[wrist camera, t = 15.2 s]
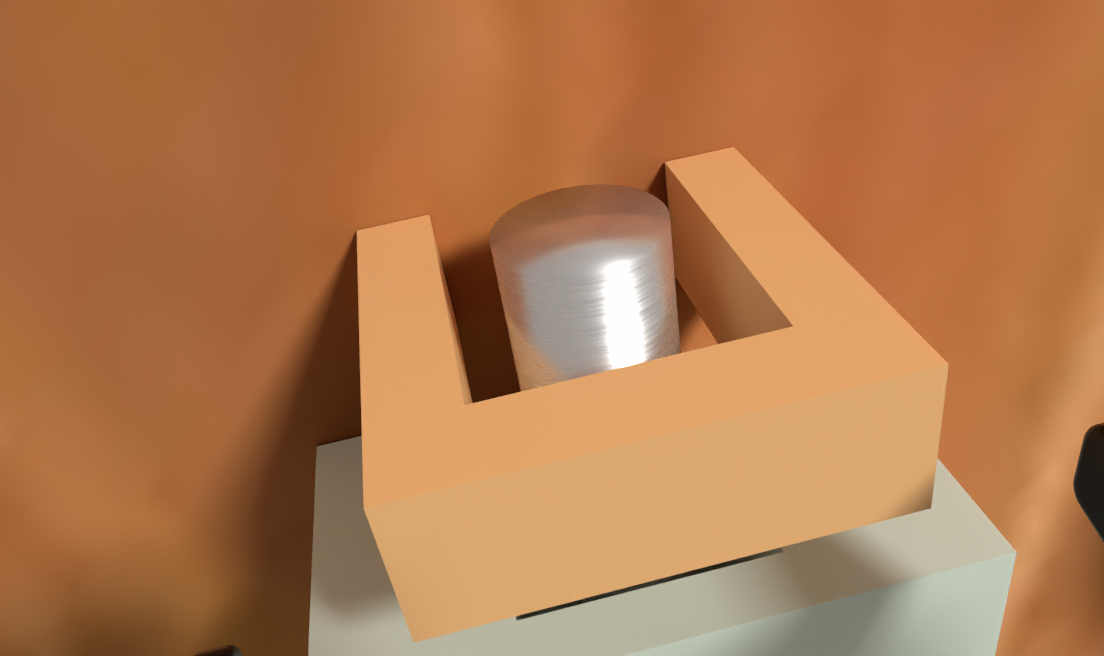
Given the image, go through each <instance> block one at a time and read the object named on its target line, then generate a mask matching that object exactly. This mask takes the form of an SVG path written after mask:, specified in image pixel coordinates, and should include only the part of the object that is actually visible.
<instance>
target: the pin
mask: <svg viewBox="0 0 1104 656" xmlns="http://www.w3.org/2000/svg"><path fill="white" fill-rule="evenodd" d="M489 240H490V246H491V251H492V256H493V261H494V266H495V270H496V275H497V280H498V285H499V290H500V294H501V299H502V304H503V309H504V314H505V318H506V323H507V328H508V333H509V338H510V343H511V347H512V352H513V357H514V362H515V367H516V371H517V376H518V381H519V386H520V391H526V390H530V389H534V388H538V387H542V386H546V385H551V384H555V383H559V382H563V381H567V380H571V379H576V378H580V377H584V376H588V375H592V374H596V373H601V372H605V371H609V370H613V369H617V368H621V367H626V366H630V365H634V364H638V363H642V362H646V361H651V360H655V359H659V358H663V357H667V356H671V355H676V354H680V353H681V350H680V337H679V325H678V312H677V299H676V287H675V274H674V261H673V249H672V236H671V223H670V215H669V211H668V209H667V207H666V205H665V204H664V203H663V202H662V201H661V200H659V199H658V198H657V197H655V196H653V195H652V194H650V193H647V192H645V191H642V190H639V189H635V188H631V187H625V186H618V185H583V186H575V187H569V188H564V189H559V190H555V191H551V192H547V193H544V194H541V195H538V196H536V197H533V198H531V199H528V200H526V201H524V202H522V203H520V204H518V205H517V206H515V207H513V208H512V209H510V210H509V211H507V212H506V213H505V214H504V215H503V216H501V217H500V218H499V220H498V221H497V222H496V223H495V225H494V226H493V228H492V230H491V233H490V239H489ZM696 574H698V569H696V570H692V571H688V572H684V573H680V574H677V575H673V576H669V577H665V578H661V579H657V580H653V581H650V582H646V583H642V584H638V585H634V586H630V587H627V588H623V589H619V590H615V591H611V592H607V593H603V594H600V595H596V596H592V597H588V598H584V599H580V600H577V601H573V602H569V603H565V607H566V608H568V607H572V606H576V605H580V604H583V603H587V602H591V601H595V600H599V599H603V598H607V597H611V596H615V595H618V594H622V593H626V592H630V591H634V590H638V589H642V588H646V587H650V586H653V585H657V584H661V583H665V582H669V581H673V580H677V579H681V578H685V577H688V576H692V575H696Z"/></svg>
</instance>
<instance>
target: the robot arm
mask: <svg viewBox="0 0 1104 656" xmlns="http://www.w3.org/2000/svg"><path fill="white" fill-rule="evenodd" d="M1073 484H1074V491H1075V495H1076V498H1077V500H1078V502H1079V504H1080V506H1081V508H1082V509H1083V511H1084V512H1085V514H1086V516H1087V517H1088V519H1089V520H1090V522H1091V523H1092V525H1093V526H1094V528H1095V530H1096V531H1097V533H1098V534H1099V536H1100V537H1101V539H1102V540H1103V542H1104V423H1101V424H1097V425H1094V426H1092V427H1090V428H1089V429H1088V431H1087V432H1086V433H1085V436H1084V439H1083V443H1082V448H1081V452H1080V456H1079V460H1078V464H1077V468H1076V472H1075V476H1074V481H1073ZM194 656H243V654H242V652H241V651H240V650H239V648H237V647H236V646H234V645H227V646H223V647H219V648H215V649H211V650H207V651H203V652H200V653H197V654H195V655H194Z"/></svg>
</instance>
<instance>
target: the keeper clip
mask: <svg viewBox="0 0 1104 656" xmlns="http://www.w3.org/2000/svg"><path fill="white" fill-rule="evenodd" d="M665 172H666V184H667V196H668V207H669V215H670V223H671V236H672V249H673V261H674V274H675V277H676V278H677V280H678V281H679V283H680V285H681V286H682V288H683V289H684V291H685V292H686V294H687V296H688V297H689V299H690V300H691V302H692V303H693V305H694V307H695V308H696V310H697V311H698V313H699V315H700V316H701V318H702V319H703V321H704V322H705V324H706V326H707V327H708V329H709V330H710V332H711V333H712V335H713V337H714V338H715V340H716V341H717V343H718V344H717V345H713V346H709V347H705V348H701V349H696V350H692V351H688V352H684V353H680V354H676V355H671V356H667V357H663V358H659V359H655V360H651V361H646V362H642V363H638V364H634V365H630V366H626V367H621V368H617V369H613V370H609V371H605V372H601V373H596V374H592V375H588V376H584V377H580V378H576V379H571V380H567V381H563V382H559V383H555V384H551V385H546V386H542V387H538V388H534V389H530V390H526V391H521V392H517V393H513V394H509V395H505V396H501V397H496V398H492V399H488V400H484V401H480V402H476V403H472V399H471V394H470V388H469V383H468V378H467V373H466V368H465V363H464V358H463V353H462V348H461V343H460V338H459V333H458V328H457V323H456V319H455V315H454V311H453V307H452V303H451V299H450V295H449V291H448V287H447V283H446V279H445V275H444V271H443V267H442V263H441V259H440V255H439V251H438V247H437V243H436V240H435V236H434V232H433V228H432V224H431V220H430V216H429V215H425V216H421V217H416V218H412V219H407V220H403V221H398V222H394V223H389V224H385V225H380V226H376V227H371V228H367V229H362V230H358V231H357V265H358V305H359V345H360V385H361V424H362V464H363V504H364V511H365V514H366V516H367V519H368V522H369V524H370V527H371V530H372V533H373V535H374V538H375V541H376V543H377V546H378V549H379V551H380V554H381V557H382V559H383V562H384V565H385V567H386V570H387V573H388V575H389V578H390V581H391V583H392V586H393V589H394V591H395V594H396V597H397V600H398V602H399V605H400V608H401V610H402V613H403V616H404V618H405V621H406V624H407V626H408V629H409V632H410V634H411V637H412V640H413V642H414V643H415V642H419V641H423V640H427V639H430V638H434V637H438V636H442V635H446V634H450V633H453V632H457V631H461V630H465V629H469V628H473V627H477V626H480V625H484V624H488V623H492V622H496V621H500V620H503V619H507V618H511V617H515V616H519V615H523V614H527V613H530V612H534V611H538V610H542V609H546V608H550V607H553V606H557V605H561V604H565V603H569V602H573V601H577V600H580V599H584V598H588V597H592V596H596V595H600V594H603V593H607V592H611V591H615V590H619V589H623V588H627V587H630V586H634V585H638V584H642V583H646V582H650V581H653V580H657V579H661V578H665V577H669V576H673V575H677V574H680V573H684V572H688V571H692V570H696V569H700V568H703V567H707V566H711V565H715V564H719V563H723V562H727V561H730V560H734V559H738V558H742V557H746V556H750V555H753V554H757V553H761V552H765V551H769V550H773V549H777V548H780V547H784V546H788V545H792V544H796V543H800V542H803V541H807V540H811V539H815V538H819V537H823V536H827V535H830V534H834V533H838V532H842V531H846V530H850V529H853V528H857V527H861V526H865V525H869V524H873V523H877V522H880V521H884V520H888V519H892V518H896V517H900V516H903V515H907V514H911V513H915V512H919V511H923V510H927V509H930V508H931V505H932V497H933V489H934V480H935V472H936V464H937V456H938V448H939V440H940V431H941V423H942V415H943V407H944V399H945V390H946V382H947V374H948V366H949V364H948V363H947V362H946V361H945V360H944V359H943V358H942V357H941V356H940V355H939V354H938V353H937V352H936V351H935V350H934V349H933V348H932V347H931V346H930V345H929V344H928V343H927V342H926V341H925V340H924V339H923V338H922V337H921V336H920V335H919V334H918V333H917V332H916V331H915V330H914V329H913V328H912V327H911V326H910V325H909V324H908V323H907V322H906V321H905V320H904V319H903V318H902V317H901V316H900V315H899V314H898V313H897V312H896V311H895V309H894V308H893V307H892V306H891V305H890V304H889V303H888V302H887V301H886V300H885V299H884V298H883V297H882V296H881V295H880V294H879V293H878V292H877V291H876V290H875V289H874V288H873V287H872V286H871V285H870V284H869V283H868V282H867V281H866V280H865V279H864V278H863V277H862V276H861V275H860V274H859V273H858V272H857V271H856V270H855V269H854V268H853V267H852V266H851V265H850V264H849V263H848V262H847V261H846V260H845V259H844V258H843V257H842V256H841V255H840V254H839V253H838V252H837V251H836V250H835V249H834V248H833V247H832V246H831V245H830V244H829V243H828V242H827V241H826V240H825V239H824V238H823V237H822V236H821V235H820V234H819V233H818V232H817V231H816V230H815V229H814V228H813V227H812V226H811V225H810V224H809V223H808V222H807V221H806V220H805V219H804V218H803V217H802V216H801V215H800V214H799V213H798V212H797V211H796V210H795V209H794V208H793V207H792V206H791V205H790V204H789V203H788V202H787V201H786V200H785V199H784V197H783V196H782V195H781V194H780V193H779V192H778V191H777V190H776V189H775V188H774V187H773V186H772V185H771V184H770V183H769V182H768V181H767V180H766V179H765V178H764V177H763V176H762V175H761V174H760V173H759V172H758V171H757V170H756V169H755V168H754V167H753V166H752V165H751V164H750V163H749V162H748V161H747V160H746V159H745V158H744V157H743V156H742V155H741V154H740V153H739V152H738V151H737V150H736V149H735V148H734V147H731V148H726V149H722V150H717V151H713V152H708V153H704V154H699V155H695V156H690V157H686V158H681V159H677V160H672V161H668V162H665Z"/></svg>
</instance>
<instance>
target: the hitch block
mask: <svg viewBox="0 0 1104 656" xmlns="http://www.w3.org/2000/svg"><path fill="white" fill-rule="evenodd" d="M1016 553H1017V552H1016V551H1015V549H1014V548H1013V547H1012V546H1011V545H1010V543H1009V542H1008V541H1007V540H1006V539H1005V538H1004V536H1003V535H1002V534H1001V533H1000V532H999V530H998V529H997V528H996V527H995V526H994V524H993V523H992V522H991V521H990V520H989V519H988V517H987V516H986V515H985V514H984V513H983V511H982V510H981V509H980V508H979V507H978V505H977V504H976V503H975V502H974V501H973V500H972V498H971V497H970V496H969V495H968V494H967V492H966V491H965V490H964V489H963V488H962V486H961V485H960V484H959V483H958V482H957V481H956V479H955V478H954V477H953V476H952V475H951V473H950V472H949V471H948V470H947V469H946V468H945V466H944V465H943V464H942V463H941V462H940V460H939V459H938V458H937V464H936V472H935V480H934V489H933V497H932V505H931V508H930V509H927V510H923V511H919V512H915V513H911V514H907V515H903V516H900V517H896V518H892V519H888V520H884V521H880V522H877V523H873V524H869V525H865V526H861V527H857V528H853V529H850V530H846V531H842V532H838V533H834V534H830V535H827V536H823V537H819V538H815V539H811V540H807V541H803V542H800V543H796V544H792V545H788V546H784V547H780V548H777V549H773V550H769V551H765V552H761V553H757V554H753V555H750V556H746V557H742V558H738V559H734V560H730V561H727V562H723V563H719V564H715V565H711V566H707V567H703V568H700V569H698V574H696V575H692V576H688V577H685V578H681V579H677V580H673V581H669V582H665V583H661V584H657V585H653V586H650V587H646V588H642V589H638V590H634V591H630V592H626V593H622V594H618V595H615V596H611V597H607V598H603V599H599V600H595V601H591V602H587V603H583V604H580V605H576V606H572V607H568V608H566V607H565V604H561V605H557V606H553V607H550V608H546V609H542V610H538V611H534V612H530V613H527V614H523V615H519V616H515V617H511V618H507V619H503V620H500V621H496V622H492V623H488V624H484V625H480V626H477V627H473V628H469V629H465V630H461V631H457V632H453V633H450V634H446V635H442V636H438V637H434V638H430V639H427V640H423V641H419V642H415V643H414V642H413V640H412V637H411V634H410V632H409V629H408V626H407V624H406V621H405V618H404V616H403V613H402V610H401V608H400V605H399V602H398V600H397V597H396V594H395V591H394V589H393V586H392V583H391V581H390V578H389V575H388V573H387V570H386V567H385V565H384V562H383V559H382V557H381V554H380V551H379V549H378V546H377V543H376V541H375V538H374V535H373V533H372V530H371V527H370V524H369V522H368V519H367V516H366V514H365V511H364V504H363V464H362V436H359V437H355V438H351V439H347V440H342V441H338V442H334V443H330V444H325V445H321V446H317V449H316V474H315V499H314V524H313V548H312V573H311V598H310V623H309V648H308V656H995V653H996V648H997V643H998V638H999V634H1000V629H1001V624H1002V620H1003V615H1004V610H1005V605H1006V601H1007V596H1008V591H1009V586H1010V582H1011V577H1012V572H1013V568H1014V563H1015V558H1016Z"/></svg>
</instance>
